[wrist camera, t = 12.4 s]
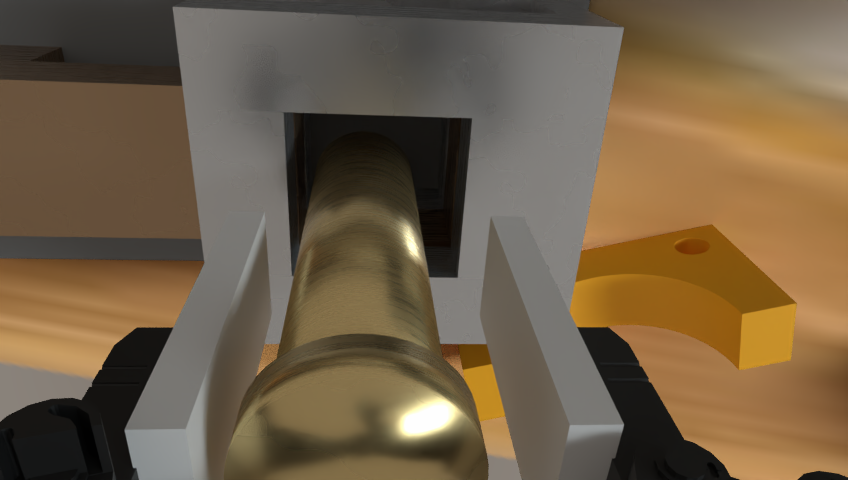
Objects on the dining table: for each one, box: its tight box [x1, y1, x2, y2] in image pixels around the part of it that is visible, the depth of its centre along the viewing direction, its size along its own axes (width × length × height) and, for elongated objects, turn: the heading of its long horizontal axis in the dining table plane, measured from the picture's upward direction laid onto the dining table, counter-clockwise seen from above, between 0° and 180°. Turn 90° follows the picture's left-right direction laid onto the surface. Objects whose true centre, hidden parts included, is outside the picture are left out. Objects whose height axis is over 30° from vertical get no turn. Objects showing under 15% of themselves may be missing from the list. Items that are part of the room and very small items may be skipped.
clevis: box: [0, 0, 624, 344], centre depth 21 cm, size 10×20×7 cm, turn 87°
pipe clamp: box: [458, 225, 797, 421], centre depth 26 cm, size 12×4×6 cm, turn 101°
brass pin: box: [223, 131, 488, 480], centre depth 14 cm, size 4×4×12 cm
